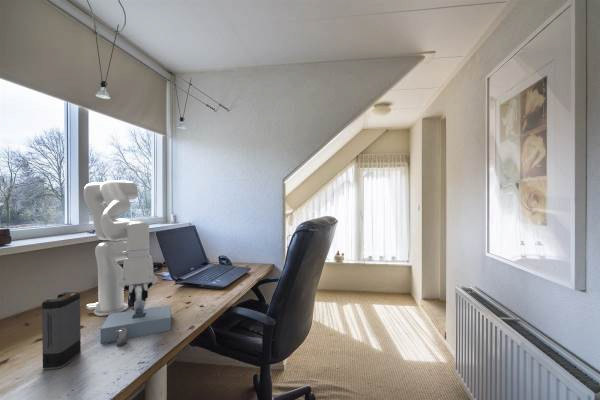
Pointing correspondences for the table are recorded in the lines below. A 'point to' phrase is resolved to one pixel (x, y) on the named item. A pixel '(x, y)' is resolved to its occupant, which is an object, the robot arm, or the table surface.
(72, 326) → the electronic device
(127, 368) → the table surface
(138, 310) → the long pin
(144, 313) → the bore block
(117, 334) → the short pin
